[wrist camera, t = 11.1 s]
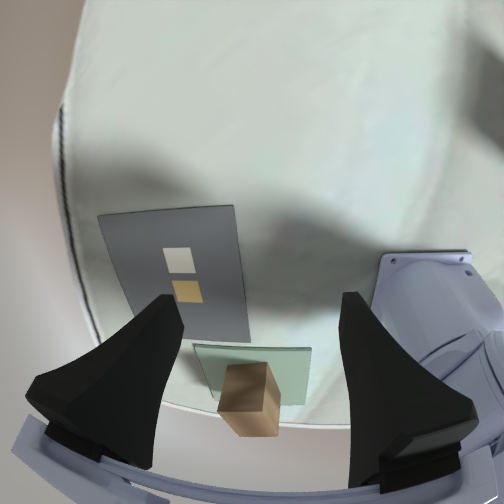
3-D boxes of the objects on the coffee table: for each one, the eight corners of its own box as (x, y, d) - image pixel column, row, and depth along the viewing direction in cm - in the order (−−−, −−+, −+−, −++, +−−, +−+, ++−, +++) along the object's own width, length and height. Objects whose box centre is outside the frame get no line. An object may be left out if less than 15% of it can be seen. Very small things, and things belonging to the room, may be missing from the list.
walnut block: (267, 361, 27) (262, 411, 22) (280, 393, 30) (277, 436, 25) (227, 364, 28) (216, 411, 23) (245, 395, 31) (239, 436, 26)
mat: (311, 347, 26) (311, 351, 26) (304, 402, 32) (304, 405, 32) (195, 344, 28) (194, 347, 27) (215, 398, 34) (215, 400, 33)
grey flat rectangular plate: (233, 205, 19) (232, 206, 19) (250, 341, 26) (250, 343, 26) (98, 216, 21) (97, 217, 21) (143, 333, 28) (142, 334, 28)
